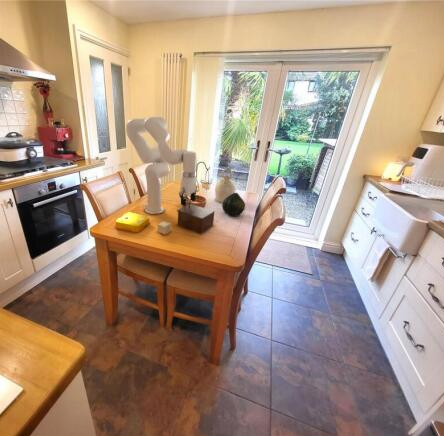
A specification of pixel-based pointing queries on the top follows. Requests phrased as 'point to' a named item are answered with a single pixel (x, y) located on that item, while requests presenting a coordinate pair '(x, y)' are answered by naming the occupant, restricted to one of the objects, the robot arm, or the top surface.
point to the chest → (195, 222)
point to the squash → (233, 204)
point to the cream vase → (224, 187)
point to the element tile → (132, 222)
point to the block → (163, 227)
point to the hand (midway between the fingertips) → (188, 202)
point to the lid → (195, 211)
